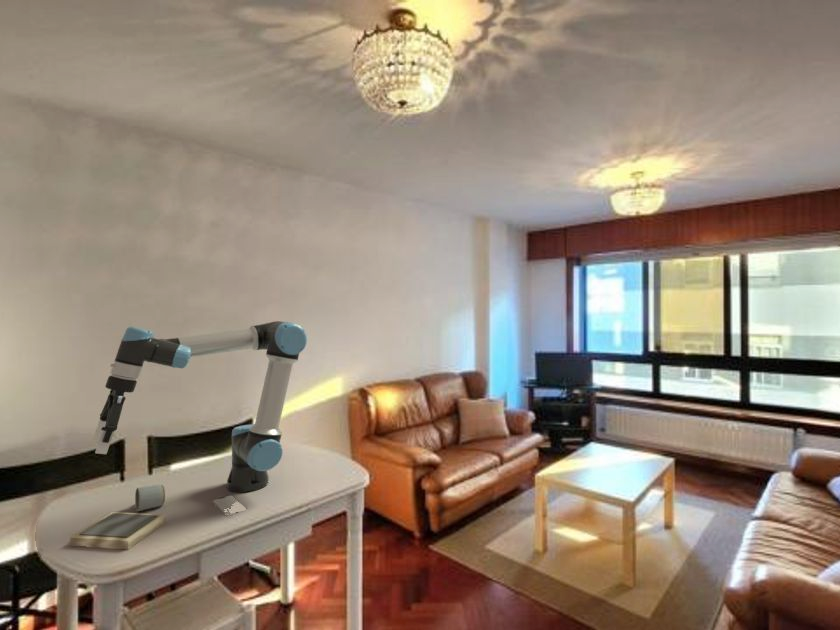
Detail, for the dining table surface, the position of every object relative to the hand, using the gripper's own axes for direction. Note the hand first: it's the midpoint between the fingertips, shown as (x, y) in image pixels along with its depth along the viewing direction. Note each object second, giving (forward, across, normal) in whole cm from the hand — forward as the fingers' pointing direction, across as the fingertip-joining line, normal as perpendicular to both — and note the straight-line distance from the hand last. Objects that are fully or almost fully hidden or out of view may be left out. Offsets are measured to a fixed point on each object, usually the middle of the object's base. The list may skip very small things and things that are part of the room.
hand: (98, 447), depth 133 cm
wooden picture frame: (+25, 0, +13) cm, 28 cm away
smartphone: (+16, 0, +44) cm, 46 cm away
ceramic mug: (+22, -16, +22) cm, 35 cm away
